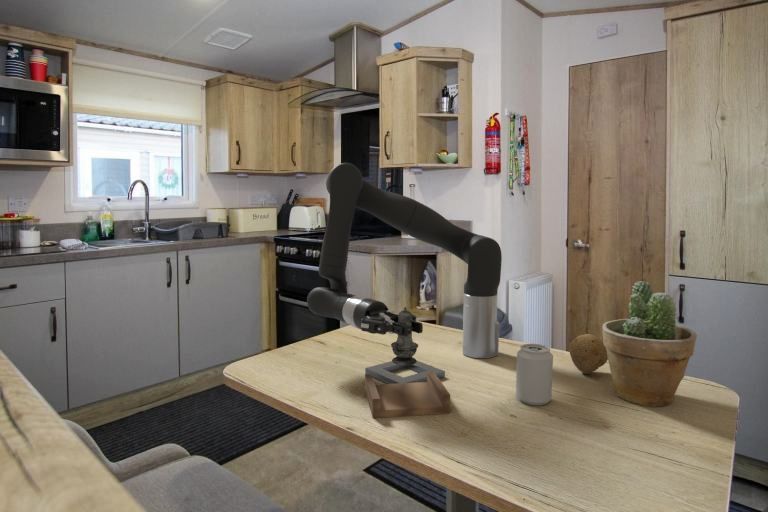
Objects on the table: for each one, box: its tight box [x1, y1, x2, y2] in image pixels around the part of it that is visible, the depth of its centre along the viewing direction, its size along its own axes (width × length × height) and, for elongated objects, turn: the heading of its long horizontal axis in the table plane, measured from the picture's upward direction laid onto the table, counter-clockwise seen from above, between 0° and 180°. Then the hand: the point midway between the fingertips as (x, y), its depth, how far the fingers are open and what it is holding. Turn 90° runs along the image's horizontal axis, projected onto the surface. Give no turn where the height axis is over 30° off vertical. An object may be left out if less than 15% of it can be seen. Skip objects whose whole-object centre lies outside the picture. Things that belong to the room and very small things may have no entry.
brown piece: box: [364, 371, 451, 419], centre depth 111 cm, size 16×14×4 cm
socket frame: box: [364, 359, 446, 384], centre depth 127 cm, size 14×14×2 cm
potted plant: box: [601, 280, 698, 408], centre depth 113 cm, size 18×19×25 cm
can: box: [515, 343, 554, 406], centre depth 112 cm, size 8×8×12 cm
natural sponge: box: [568, 333, 608, 375], centre depth 129 cm, size 9×9×10 cm
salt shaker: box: [390, 306, 419, 365], centre depth 109 cm, size 6×6×12 cm
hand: (413, 329), depth 107 cm, fingers closed on salt shaker, 3 cm apart
